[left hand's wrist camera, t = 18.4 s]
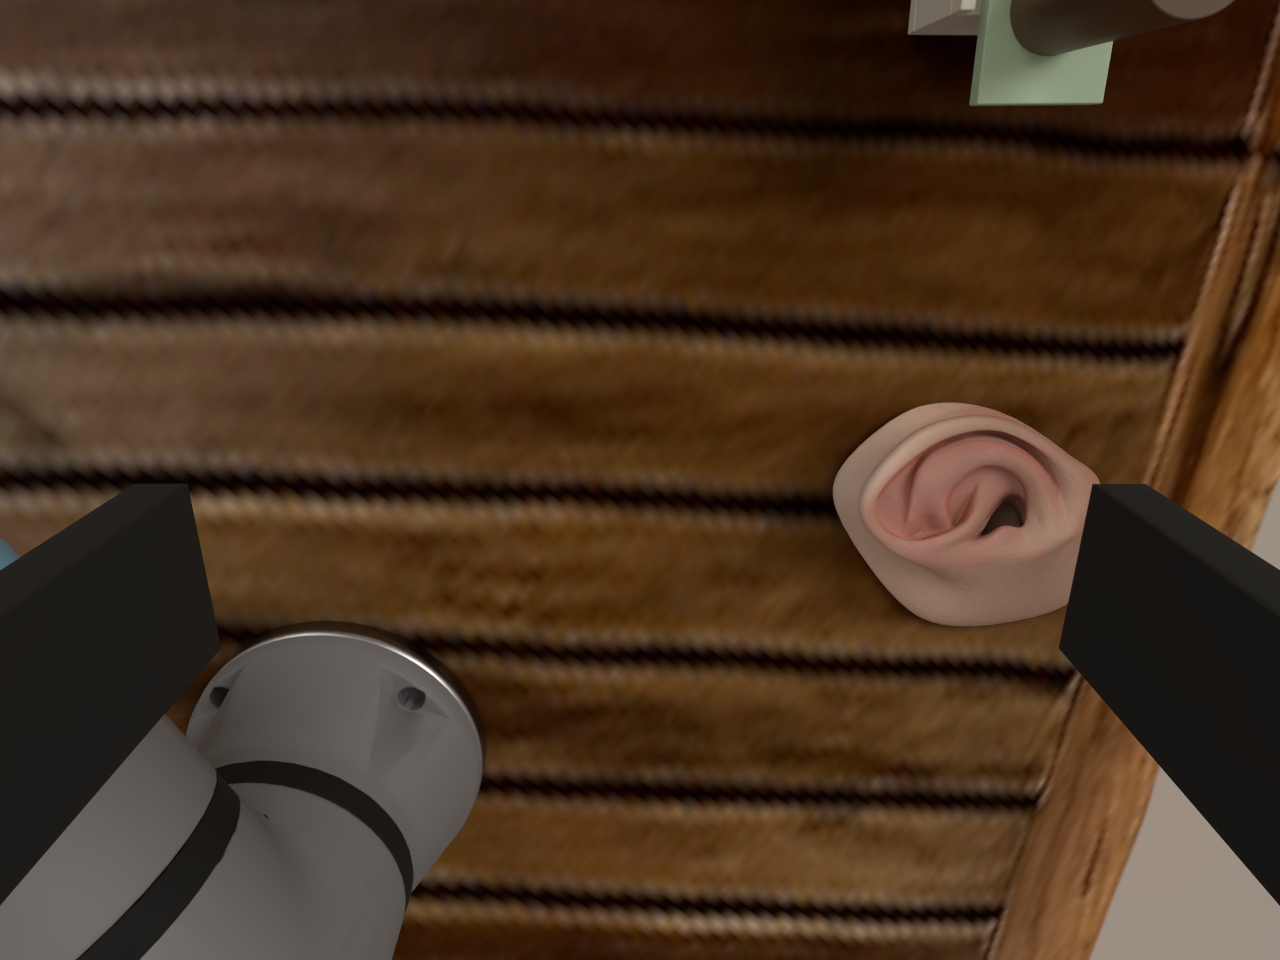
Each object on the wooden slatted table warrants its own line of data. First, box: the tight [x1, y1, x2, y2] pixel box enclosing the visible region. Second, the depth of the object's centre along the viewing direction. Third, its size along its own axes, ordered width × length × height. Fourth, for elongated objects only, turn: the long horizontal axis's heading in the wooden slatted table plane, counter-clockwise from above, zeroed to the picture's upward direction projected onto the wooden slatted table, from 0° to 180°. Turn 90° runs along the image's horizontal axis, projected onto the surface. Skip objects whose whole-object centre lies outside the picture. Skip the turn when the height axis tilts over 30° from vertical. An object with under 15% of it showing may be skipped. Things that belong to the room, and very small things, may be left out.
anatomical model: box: [833, 403, 1100, 626], centre depth 39 cm, size 13×4×12 cm
